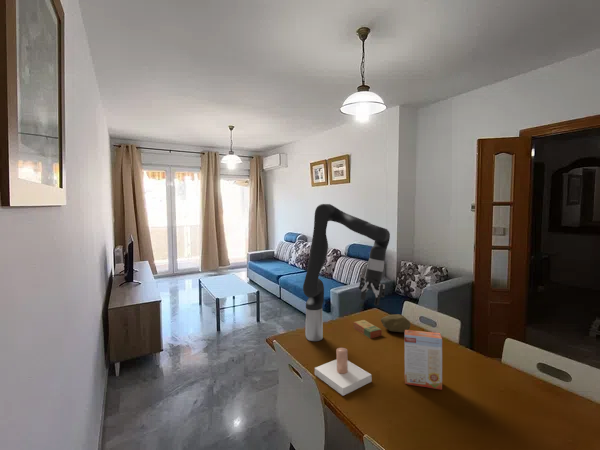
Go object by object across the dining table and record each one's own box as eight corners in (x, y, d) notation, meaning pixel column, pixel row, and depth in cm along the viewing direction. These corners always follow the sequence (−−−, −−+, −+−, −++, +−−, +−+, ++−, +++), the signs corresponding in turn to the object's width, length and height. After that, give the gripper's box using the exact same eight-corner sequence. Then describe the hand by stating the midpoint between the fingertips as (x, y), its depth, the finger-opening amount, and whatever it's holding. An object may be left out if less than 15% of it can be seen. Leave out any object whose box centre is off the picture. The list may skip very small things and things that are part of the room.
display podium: (314, 374, 128) (314, 367, 128) (341, 363, 137) (341, 356, 137) (343, 395, 114) (342, 388, 113) (371, 381, 123) (371, 374, 122)
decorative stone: (377, 331, 172) (377, 314, 171) (383, 325, 181) (383, 309, 181) (407, 338, 162) (407, 320, 162) (412, 331, 172) (412, 314, 171)
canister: (334, 370, 126) (334, 349, 126) (342, 366, 129) (342, 346, 128) (342, 375, 122) (341, 353, 122) (350, 371, 125) (349, 350, 125)
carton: (364, 326, 181) (364, 319, 181) (382, 336, 166) (382, 328, 166) (353, 328, 177) (353, 321, 177) (370, 339, 163) (370, 331, 163)
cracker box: (440, 382, 122) (440, 332, 120) (442, 390, 116) (442, 338, 115) (404, 376, 126) (404, 328, 125) (404, 384, 120) (404, 334, 119)
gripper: (359, 265, 144) (353, 297, 144) (381, 271, 132) (375, 307, 132) (369, 266, 148) (364, 298, 148) (392, 272, 136) (386, 307, 136)
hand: (369, 302), depth 140 cm, fingers open, 8 cm apart
